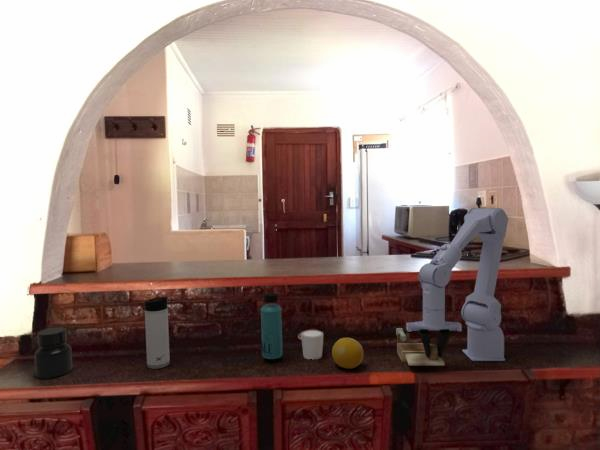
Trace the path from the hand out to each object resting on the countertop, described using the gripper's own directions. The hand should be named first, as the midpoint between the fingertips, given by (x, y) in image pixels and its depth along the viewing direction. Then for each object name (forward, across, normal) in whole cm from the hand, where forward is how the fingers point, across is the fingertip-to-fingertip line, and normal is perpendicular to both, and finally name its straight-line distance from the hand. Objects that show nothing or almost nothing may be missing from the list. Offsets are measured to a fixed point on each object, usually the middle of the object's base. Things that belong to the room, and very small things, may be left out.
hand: (433, 356), depth 110 cm
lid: (+1, +2, 0) cm, 3 cm away
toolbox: (+4, +2, -8) cm, 9 cm away
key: (0, +6, -15) cm, 16 cm away
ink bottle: (+4, +106, +1) cm, 107 cm away
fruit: (+4, +24, -2) cm, 24 cm away
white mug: (+4, +34, -10) cm, 35 cm away
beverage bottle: (+4, +46, -7) cm, 46 cm away
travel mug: (+4, +78, -4) cm, 79 cm away
